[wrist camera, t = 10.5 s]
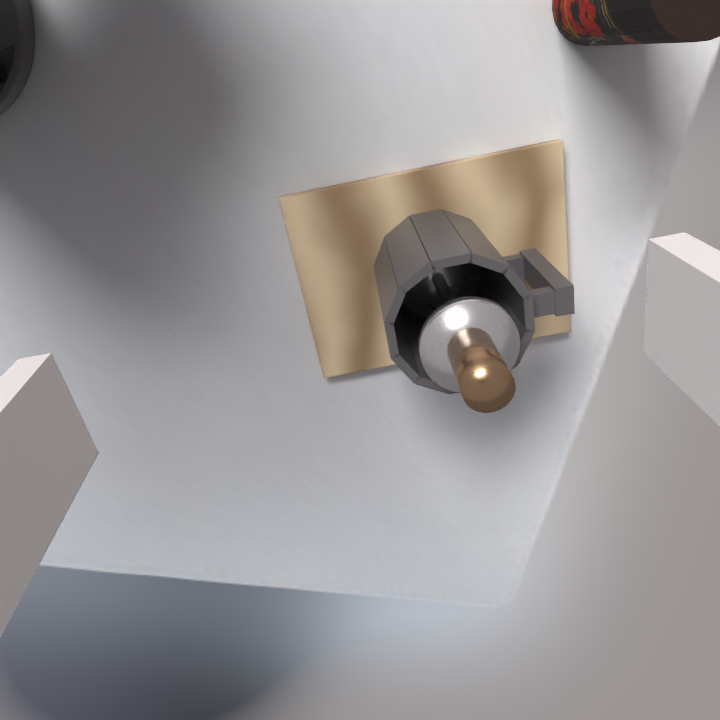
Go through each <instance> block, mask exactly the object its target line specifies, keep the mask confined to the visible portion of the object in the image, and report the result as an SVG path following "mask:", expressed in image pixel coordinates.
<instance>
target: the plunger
mask: <svg viewBox="0 0 720 720" xmlns="http://www.w3.org/2000/svg"><path fill="white" fill-rule="evenodd" d="M480 277H481V271H480V266H479V265H476V264H473V263H466V264H461V265H456V266H451V267H446V268H441V269H436V270H433V271H432V272H431V273H430V274H428V275H427V276H426V277H425V278H423V279H422V280H421V281H420V282H419V283H417V284H416V285H415V286H414V287H412V288H411V289H410V290H409V291H407V292H406V294H405V297H404V299H403V302H402V303H403V304H404V305H405V306H406V307H407V308H408V309H409V310H410V311H412V312H413V313H415V314H417V315H420V316H422V317H427V320H426V321H425V323H424V325H423V327H422V329H421V332H420V335H419V343H418V347H419V354H420V358H421V361H422V365H423V367H424V369H425V371H426V373H427V374H428V376H429V377H430V378H431V379H432V380H433V381H434V382H435V383H436V384H438V385H439V386H441V387H443V388H445V389H448V390H450V391H454V392H461V393H462V396H463V398H464V401H465V402H466V404H467V405H468V406H469V407H470V408H472V409H473V410H475V411H478V412H483V413H489V412H494V411H497V410H500V409H502V408H503V407H505V406H506V405H507V404H508V403H509V402H510V401H511V399H512V398H513V396H514V393H515V381H514V378H513V376H512V375H511V373H510V370H511V369H512V368H513V366H514V364H515V362H516V360H517V358H518V354H519V350H520V337H519V332H518V329H517V327H516V325H515V323H514V321H513V320H512V318H511V317H510V315H509V314H508V313H507V311H506V310H505V309H504V308H503V307H502V306H500V305H499V304H497V303H496V302H494V301H492V300H489V299H487V298H483V297H477V296H475V294H476V292H477V290H478V287H479V284H480Z"/></svg>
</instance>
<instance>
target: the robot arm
mask: <svg viewBox="0 0 720 720" xmlns="http://www.w3.org/2000/svg"><path fill="white" fill-rule="evenodd" d="M34 45H35V34H34V23H33V16H32V11H31V6H30V3H29V0H0V114H1V113H2V112H4V111H5V110H6V109H7V108H8V107H9V106H10V105H11V104H12V103H13V102H14V101H15V100H16V98H17V97H18V96H19V94H20V93H21V91H22V89H23V87H24V85H25V84H26V81H27V79H28V76H29V73H30V70H31V66H32V62H33V56H34ZM644 330H645V331H644V353H645V354H646V355H647V356H648V357H649V358H650V359H651V360H652V361H653V362H654V363H655V364H656V365H657V366H658V367H659V368H660V369H661V370H662V371H663V372H664V373H665V374H666V375H667V376H669V378H670V379H671V380H673V381H674V382H675V383H676V384H677V385H678V386H679V387H680V388H681V389H682V390H683V391H684V392H685V393H686V394H687V395H688V396H689V397H690V398H691V399H692V400H693V401H694V402H695V403H696V404H698V406H699V407H700V408H701V409H702V410H704V411H705V412H706V413H707V414H708V415H709V416H710V417H711V418H712V419H713V420H714V421H715V422H716V423H717V424H718V425H719V426H720V251H719V250H717V249H715V248H713V247H711V246H709V245H707V244H706V243H704V242H702V241H700V240H698V239H696V238H694V237H692V236H690V235H689V234H687V233H678V234H673V235H668V236H663V237H657V238H652V239H648V263H647V285H646V308H645V329H644ZM97 455H98V451H97V449H96V446H95V444H94V442H93V440H92V438H91V436H90V434H89V432H88V429H87V427H86V425H85V423H84V421H83V419H82V417H81V415H80V412H79V410H78V408H77V406H76V404H75V402H74V400H73V398H72V395H71V393H70V391H69V389H68V387H67V385H66V383H65V381H64V379H63V376H62V374H61V372H60V370H59V368H58V366H57V364H56V362H55V359H54V357H53V355H52V353H47V354H42V355H37V356H31V357H26V358H21V359H17V360H16V361H15V362H14V363H13V365H12V366H11V367H10V368H9V369H8V370H7V371H6V372H5V373H4V374H3V375H2V376H1V377H0V637H1V635H2V633H3V631H4V629H5V627H6V626H7V624H8V622H9V620H10V618H11V616H12V614H13V613H14V611H15V609H16V607H17V605H18V603H19V601H20V599H21V598H22V596H23V594H24V592H25V590H26V588H27V586H28V584H29V582H30V580H31V579H32V577H33V575H34V573H35V571H36V569H37V567H38V566H39V564H40V562H41V560H42V558H43V556H44V554H45V552H46V551H47V549H48V547H49V545H50V543H51V541H52V539H53V537H54V536H55V534H56V532H57V530H58V528H59V526H60V524H61V522H62V521H63V519H64V517H65V515H66V513H67V511H68V509H69V507H70V506H71V504H72V502H73V500H74V498H75V496H76V494H77V492H78V491H79V489H80V487H81V485H82V483H83V481H84V479H85V477H86V476H87V474H88V472H89V470H90V468H91V466H92V464H93V462H94V460H95V459H96V457H97Z"/></svg>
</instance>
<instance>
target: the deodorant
mask: <svg viewBox="0 0 720 720" xmlns="http://www.w3.org/2000/svg"><path fill="white" fill-rule="evenodd" d="M552 11H553V16H554V21H555V23H556V25H557V27H558V29H559V31H560V32H561V33H562V34H563V35H564V36H565V37H566V38H567V39H568V40H570V41H572V42H573V43H575V44H579V45H585V46H594V45H624V44H653V43H682V42H699V41H708V40H712V39H714V38H717V37H719V36H720V0H553V1H552Z"/></svg>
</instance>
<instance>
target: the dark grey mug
mask: <svg viewBox="0 0 720 720" xmlns="http://www.w3.org/2000/svg"><path fill="white" fill-rule="evenodd" d="M519 253H520V254H515V255H509V256H504V257H502V256H501V254H500V253H499V252H498V251H497V250H496V248H495V247H494V246H493V245H492V244H491V242H490V241H489V240H488V239H487V238H486V236H485V235H484V234H483V233H482V232H481V230H480V229H479V228H478V227H477V226H476V224H475V223H474V222H473V221H472V220H471V219H469V218H466V217H464V216H461V215H458V214H455V213H452V212H449V211H446V210H443V209H442V210H441V209H438V210H433V211H428V212H423V213H418V214H413V215H410V216H408V217H407V218H405V219H404V220H403V221H402V222H401V223H400V224H398V225H397V226H396V227H395V228H394V229H393V230H391V231H390V232H389V233H388V234H387V235H385V237H384V239H383V241H382V244H381V247H380V250H379V252H378V255H377V258H376V260H375V263H374V272H375V277H376V283H377V288H378V294H379V299H380V305H381V310H382V316H383V321H384V326H385V332H386V337H387V342H388V347H389V353H390V358H391V360H392V361H393V362H394V363H395V364H396V365H397V366H398V367H399V368H400V369H401V370H402V371H403V372H404V373H405V374H406V375H407V376H408V377H409V378H410V379H411V380H412V381H413V383H414V384H417V385H420V386H424V387H427V388H430V389H434V390H437V391H441V392H444V393H448V394H453V393H459V392H454V391H450V390H448V389H445V388H443V387H441V386H439V385H438V384H436V383H435V382H434V381H433V380H432V379H431V378H430V377H429V376H428V374H427V373H426V371H425V369H424V367H423V365H422V361H421V358H420V354H419V347H418V343H419V335H420V332H421V329H422V327H423V325H424V323H425V321H426V320H427V317H422V316H420V315H417V314H415V313H413V312H412V311H410V310H409V309H408V308H407V307H406V306H405V305H404V304H403V303H402V302H403V299H404V297H405V294H406V292H407V291H409V290H410V289H411V288H412V287H414V286H415V285H416V284H417V283H419V282H420V281H421V280H422V279H423V278H425V277H426V276H427V275H428V274H430V273H431V272H432V271H433V270H436V269H441V268H446V267H451V266H456V265H461V264H466V263H473V264H476V265H479V266H480V271H481V277H480V284H479V287H478V290H477V292H476V294H475V296H477V297H483V298H487V299H489V300H492V301H494V302H496V303H497V304H499V305H500V306H502V307H503V308H504V309H505V310H506V311H507V313H508V314H509V315H510V317H511V318H512V320H513V321H514V323H515V325H516V327H517V329H518V332H519V337H520V350H519V354H518V358H517V360H516V362H515V364H514V366H513V368H514V367H516V366H517V365H518V364H519V362H520V360H521V358H522V356H523V355H524V353H525V351H526V349H527V347H528V345H529V343H530V341H531V339H532V337H533V335H534V333H535V319H534V318H536V317H541V316H547V315H552V314H555V316H556V317H558V316H563V315H568V314H574V287H573V284H572V283H571V282H570V281H569V280H568V279H567V278H565V277H564V276H563V275H562V274H561V273H560V272H559V271H558V270H557V269H556V268H555V267H554V266H553V265H552V264H551V263H550V262H549V261H548V260H547V259H546V258H545V257H544V256H543V255H542V254H541V253H540V252H539V251H538V250H537V249H535V248H531V249H526V250H521V251H519ZM522 277H523V278H524V279H525V280H526V281H527V283H528V284H529V285H530V286H531V287H532V288H533V290H529V289H528V288H527V287H526V286H525V284H524V283H523V282H522V281H521V279H520V278H522ZM513 368H512V369H513ZM512 369H511V370H512Z"/></svg>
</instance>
